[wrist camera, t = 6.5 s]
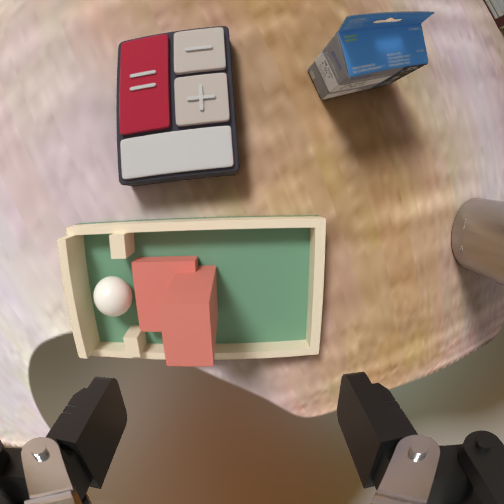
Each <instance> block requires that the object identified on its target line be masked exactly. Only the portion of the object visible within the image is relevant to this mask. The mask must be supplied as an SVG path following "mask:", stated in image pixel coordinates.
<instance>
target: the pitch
mask: <svg viewBox="0 0 504 504" xmlns="http://www.w3.org/2000/svg"><path fill="white" fill-rule="evenodd" d="M66 235H67V236H65V237H62V238H59V239H57V245H58V253H59V261H60V268H61V274H62V281H63V287H64V292H65V298H66V303H67V308H68V313H69V318H70V322H71V327H72V331H73V335H74V339H75V344H76V347H77V351H78V355H79V358H88V357H89V355H92V356H104V357H119V358H138V359H165V353H164V346H163V339H162V332H144V331H140V326H139V319H138V312H137V305H136V298H135V290H134V282H133V273H132V263H131V262H133V261H134V260H135V259H136V258H137V257H162V256H197V257H198V266H205V265H216V276H217V297H218V322H217V333H216V344H215V356H214V360H228V359H256V358H275V357H291V356H304V355H315V354H319V345H320V333H321V319H322V304H323V286H324V265H325V235H326V219H325V218H323V217H320V216H318V215H297V216H237V217H202V218H175V219H152V220H132V221H114V222H97V223H82V224H76V225H73V226H70V227H67V228H66ZM108 276H116V277H120V278H122V279H123V280H125V281H126V282H127V283H128V285H129V286H130V288H131V291H132V303H131V306H130V307H129V309H128V310H127V311H126V312H125V313H124V314H122V315H120V316H116V317H111V316H107V315H105V314H103V313H102V312H100V311H99V309H98V308H97V307H96V305H95V302H94V297H93V295H94V289H95V287H96V285H97V284H98V282H99V281H100V280H102V279H103V278H105V277H108ZM165 360H166V359H165Z"/></svg>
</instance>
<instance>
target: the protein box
mask: <svg viewBox="0 0 504 504" xmlns="http://www.w3.org/2000/svg"><path fill="white" fill-rule="evenodd" d="M484 2H485V3H486V5H487V7H488V9H489V11H490V12H491V14H492V16H493V18H494V20H495V22H496V23H497V25H498V27H499V28H500V29H504V0H484Z"/></svg>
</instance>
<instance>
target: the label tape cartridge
mask: <svg viewBox="0 0 504 504" xmlns="http://www.w3.org/2000/svg"><path fill="white" fill-rule="evenodd" d="M433 13H434V12H423V11H417V12H415V11H413V12H381V13H369V14H358V15H350V16H347V17H346V18H345V20H344V22H343V24H342V25H341V27H340V29H339V30H338V32H337V33H336V34H335V36H334V37H333V38H332V39H331V41H330V42H329V43H328V44H327V46H326V47H325V48H324V50H323V51H322V52H321V53H320V55H319V56H318V57H317V58H316V60H315V61H314V62H313V64H312V65H311V66H310V68H309V69H308V73H309V75H310V77H311V79H312V81H313V83H314V86H315V88H316V90H317V92H318V94H319V96H320V98H321V100H326V99H330V98H333V97H337V96H341V95H345V94H349V93H354V92H358V91H362V90H367V89H371V88H376V87H381V86H385V85H389V84H391V83H393V82H394V81H396V80H398V79H400V78H402V77H404V76H405V75H407V74H409V73H411V72H413V71H415V70H417V69H419V68H420V67H422V66H424V65H426V64H428V58H427V52H426V46H425V42H424V36H423V31H422V26H421V23H422V22H423V21H424V20H426V19H427V18H428V17H429V16H431V15H432V14H433ZM391 17H392V18H393V19H402V20H400V21H394V22H380V23H373V22H374V21H377V20H386V19H388V18H391Z"/></svg>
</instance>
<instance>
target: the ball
mask: <svg viewBox="0 0 504 504" xmlns="http://www.w3.org/2000/svg"><path fill="white" fill-rule="evenodd" d="M93 297H94V302H95V305H96V307H97V308H98V309H99V311H100V312H102V313H103V314H105V315H107V316H111V317H116V316H120V315H122V314H124V313H125V312H126V311H127V310H128V309H129V307H130V306H131V303H132V291H131V288H130V286H129V285H128V283H127V282H126V281H125V280H123V279H122V278H120V277H116V276H108V277H105V278H103V279H102V280H100V281H99V282H98V284H97V285H96V287H95V289H94V295H93Z"/></svg>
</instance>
